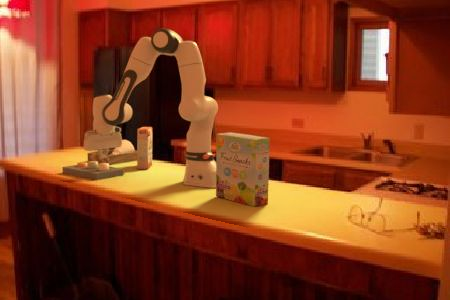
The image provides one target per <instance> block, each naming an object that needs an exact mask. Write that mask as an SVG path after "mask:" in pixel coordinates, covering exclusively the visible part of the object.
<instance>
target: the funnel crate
mask: <svg viewBox="0 0 450 300" xmlns="http://www.w3.org/2000/svg"><path fill="white" fill-rule="evenodd" d="M114 149H115V148H112V149H109V152H108V154H107V158H103V159H100V155H99V153H98V151H90V152H87V162H89V161H98V164H99V163H109V166H113V165H119V164H124V163H130V162H136V161H137V149H134V150H135V151H134V152H131V153H124V154H117V155H110V154H111V153H112V152H113V151H114ZM104 152H105V151H104V150H103V151H102V153H103V154H104ZM109 155H110V156H109Z"/></svg>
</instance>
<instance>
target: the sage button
mask: <svg viewBox="0 0 450 300" xmlns="http://www.w3.org/2000/svg"><path fill="white" fill-rule="evenodd" d="M87 164H88V169H98V161H89V162H88V161H87Z"/></svg>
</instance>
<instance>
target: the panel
mask: <svg viewBox="0 0 450 300" xmlns="http://www.w3.org/2000/svg"><path fill="white" fill-rule="evenodd" d="M62 174H64V175H65V174H66V175H71V176H75V177H80V178H84V179H90V180H95V181H99V180H100V181H101V180H104V179H106V180H107V179H111V178H116V177H122V176H124V174H125V170H124V168H120V167H114V166H109V171H104V172H102V171H98V169H88V167H82V168H81V167H77V164H75V165H67V166H62Z"/></svg>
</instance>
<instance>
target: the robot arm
mask: <svg viewBox="0 0 450 300" xmlns="http://www.w3.org/2000/svg"><path fill="white" fill-rule="evenodd" d="M160 55H163V56H169V57H175V58H176V61H177V66H178V72H179V76H180V83H181V100H180V103H179V106H178V113H179V115H180V117H181V118H182V119H183V120H185V121H188V122H190V124H189V128H188V131H187V133H186V150H185V160H186V161H185V169H184V171H185V172H184V176H183V178H182V182H183V185H185V186H194V187H201V188H208V189H216V160H215V158H214V157H215V156H216V153H213V152H212V132H213V127H214V122H215V117H216V115H217V114H218V111H219V105H218V102H217V101H216V99H214V98H213V97H211V96H207V95H205V86H206V82H207V77H206V72H205V67H204V63H203V57H202V54H201V52H200V49H199V45H197V43H196V42H195V41H193V40H184V38H183V37H182V35H180V34H179V33H177V32H175V30H171V29H169V28H167V27H166V28H163V27H162V28H158V29H156V30H155V31H154V32H153V33H152V35H151V36H150V37H149V36H142V37H140V38H139V40H138V41H137V43H136V44H135V46H134V48H133V49H132V52H131V54H130V57H129V59H128V62H127V63H126V64H127V65H126V66H125V69H124V71H123V75H122V77H121V78H120V81H119V83H118V85H117V86H116V88H115V89H116V90H115V91H114V93H113V95H110V94H100V95H97V96H95V97H94V98H93V103H92V115H93V121H92V127H93V128H92V130H87V131H85V133H84V138H83V139H84V140H83V149H84V151H86V152H94V151H97V152H98V153H99V155H100V159H103V158H107V154H108V152H109V150H110V149H115V148H116V147H121V145H122V140H123V137H122V133H121V132H122V128H121V127H119V125H120V124H124V123H126V122H128V121H130V120H131V119H132V117H133V112H134V111H133V108H132V106H131V105H130V104H129V103H127V102H128V99H129V97H130V96H131V93H132V91H133V90H134V88H135V87H136V86H137V85H138V84H140V83H141V82H142V81H145V80H147V78H148V76H149V75H150V73H151V71H152V70H153V68H154V65H155V63H156V60H157V58H158V57H159V56H160ZM102 151H105V152H104V154H103V153H102Z"/></svg>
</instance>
